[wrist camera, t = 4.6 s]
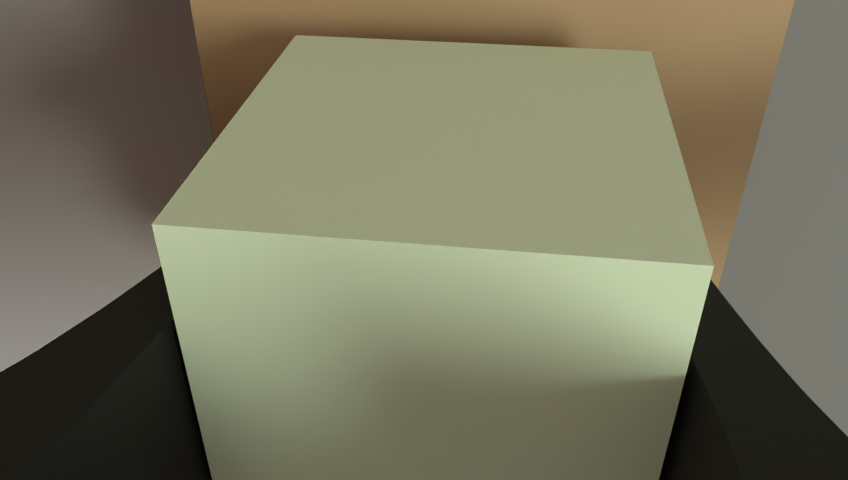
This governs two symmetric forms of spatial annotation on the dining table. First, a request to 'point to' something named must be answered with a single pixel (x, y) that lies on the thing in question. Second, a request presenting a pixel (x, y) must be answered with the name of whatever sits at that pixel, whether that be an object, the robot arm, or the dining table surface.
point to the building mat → (800, 212)
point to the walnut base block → (553, 27)
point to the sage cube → (439, 266)
